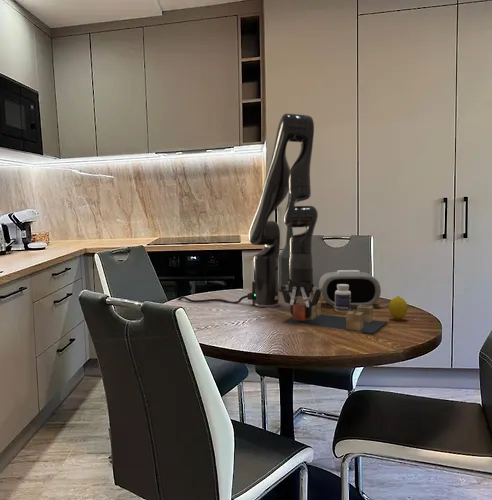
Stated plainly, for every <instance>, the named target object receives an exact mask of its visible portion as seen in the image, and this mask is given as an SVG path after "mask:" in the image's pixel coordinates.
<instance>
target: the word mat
mask: <svg viewBox="0 0 492 500" xmlns="http://www.w3.org/2000/svg"><path fill="white" fill-rule="evenodd" d="M284 322H285V323H291V324H299V325H305V326H314V327H321V328H328V329H337V330H343V331H353V332H357V331H356V330H349V329H346V316H341V315H340V316H339V315H331V314H322V313H321V315H320V316H318V317H316V318H315V319H313V320H305V321H303V320H296V319H293V317H291V318H289V319H287V320H284ZM387 323H388V322H387V321H382V320H374V319H373V321H372V322H371V323H364V322H363V329H361V330H360V331H358V333H361V334H368V335H375V333H377V332H378V331H379V330H381V328H383V327H384V326H385V325H387Z"/></svg>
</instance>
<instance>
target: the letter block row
mask: <svg viewBox="0 0 492 500" xmlns="http://www.w3.org/2000/svg"><path fill="white" fill-rule="evenodd" d="M345 317H346V329H349V330H348V331H351V330H356V331H355V332H359V331H360V330H361V329H363V322H364V323H371V322H372V321H373V320H374V305H371V306H369V305H359V306H358V307H357V308H356V311H354V310H351V311H350V312H346V313H345Z"/></svg>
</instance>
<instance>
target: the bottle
mask: <svg viewBox="0 0 492 500" xmlns="http://www.w3.org/2000/svg"><path fill="white" fill-rule="evenodd" d="M293 235H294V231H293V228H291V227H288V226H287V225H286V236H285V237H286V238H285V245H284V246H283V248H282V250H281V252H279V257H278V291H280V292H282V291H281V286H283V285H288V283H289V256H290V237H291V236H293ZM288 292H289V293H292V291H291V290H290V288H289V290H288Z"/></svg>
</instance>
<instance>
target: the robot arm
mask: <svg viewBox="0 0 492 500" xmlns="http://www.w3.org/2000/svg"><path fill="white" fill-rule="evenodd" d="M314 135H315V123H314V119H313V117H312V116H310V115H308V114H301V113H299V114H298V113H288V112H287V113H283V114H282V116H281V118H280V119H279V122H278V126H277V129H276V134H275V140H274V145H273V149H272V154H271V158H270V161H269V165H268V169H267V172H266V175H265V178H264V182H263V186H262V190H261V193H260V197H259V200H258V203H257V207H256V210H255V212H254V215H253V217H252V220H251V222H250V225H249V229H248V241H249V243H250V244H251V245H254V246H263V248H262V249H261V250H260V251H259V252H257V253H255V254H254V255H253V281H252V282H251V292H249V293H247V295H243V296H241V297H240V298H239V299H238V300H236V301H230V300H228V299H227V300H226V299H222V298H208V299H191V298H188V297H187V296H180V297H178V298H177V301H181V300H182V299H183V300H185V301H187V302H190V303H206V302H207V303H209V302H222V303H225V304H226V303H227V304H232V305H233V304H235V305H237V304H240V303H241V302H242V300H244V299H247V300H249V301H250V300H251V301H252V302H251V303H252V304H251V305H252V306H255V307H257V308H258V307H259V308H274V307H278V306H280V302H279V301H280V300H279V299H280V294H279V271H278V257H279V255H280V249H281V248H280V247H281V246H280V245H281V229H280V226H279V224H278V223H277V221H275V220H269V219H270V216H271V215H272V214H273V212H274V211H275V210H276V209H277V208H278V207H279V206H280V205H281V204H282V203H283V202H284V200H285V199H286V197H287V196H288V198H287V202H286V203H287V204H286V208H285V211H284V215H283V222H284V224H285V225H286V227H287V226H288V227H291V228H292V229H293V228H305V230H304V231H303V232H301V233H296V234H293V236H291V237H290V256H289V283H288V285H283V286H281V291H280V292H281V294H282V297H283V300H284V303H285V304H289V305H290V315H291V316H292V317H293V304H295V303H297V302H298V298H299V297H302V299H303V301H304V303H305V304H306V318H309V317H310V316H311V315H312V306H314V305H316V304H317V303H318V301H320V298H321V292H322V288H319V287H317V286H315V284H314V282H313V281H314V258H313V237H314V232H315V227H316V225H317V222H318V218H319V212H318V210H317V208H316V207H315V206H313V205H296V204H297V203H300V202H302V201H307V200H309V199H310V198H311V196H312V188H311V187H312V186H311V164H312V155H313V146H314V137H315V136H314ZM289 142H290V143H300V149H299V150H300V151H299V154H298V156H297V158H296V160H295V161H294V163H293V164H292V166H291V167H290V165H289V162H288V158H287V147H288V146H287V145H288V143H289ZM289 288H290V290H291V291H292V292H291V295H290V292H288V290H289ZM312 291H313V297H312V295H311V293H312ZM311 300H312V301H311Z"/></svg>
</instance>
